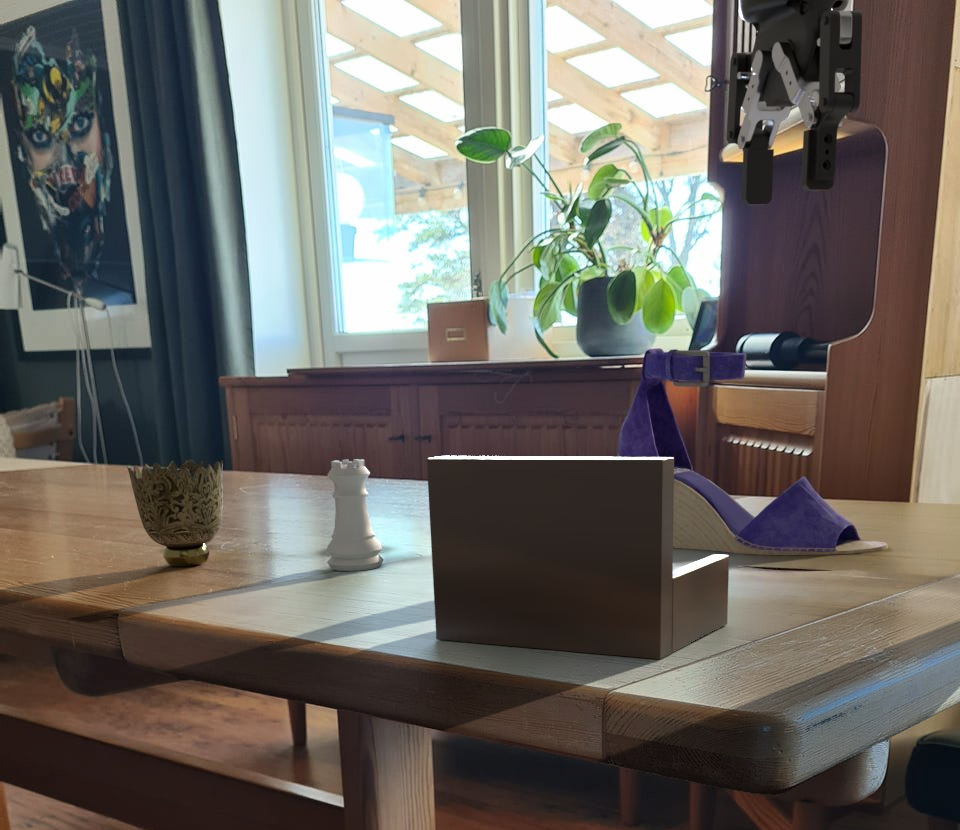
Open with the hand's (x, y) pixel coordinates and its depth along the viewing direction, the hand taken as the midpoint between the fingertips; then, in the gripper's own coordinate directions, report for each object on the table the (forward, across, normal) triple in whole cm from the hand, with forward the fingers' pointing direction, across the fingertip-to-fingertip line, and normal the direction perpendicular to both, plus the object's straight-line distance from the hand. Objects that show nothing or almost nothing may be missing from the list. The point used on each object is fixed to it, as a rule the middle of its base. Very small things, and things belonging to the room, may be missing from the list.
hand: (785, 197), depth 94 cm
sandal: (+25, -7, +6) cm, 27 cm away
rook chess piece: (+25, +7, +33) cm, 42 cm away
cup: (+25, +16, +45) cm, 54 cm away
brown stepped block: (+25, -25, +26) cm, 44 cm away
